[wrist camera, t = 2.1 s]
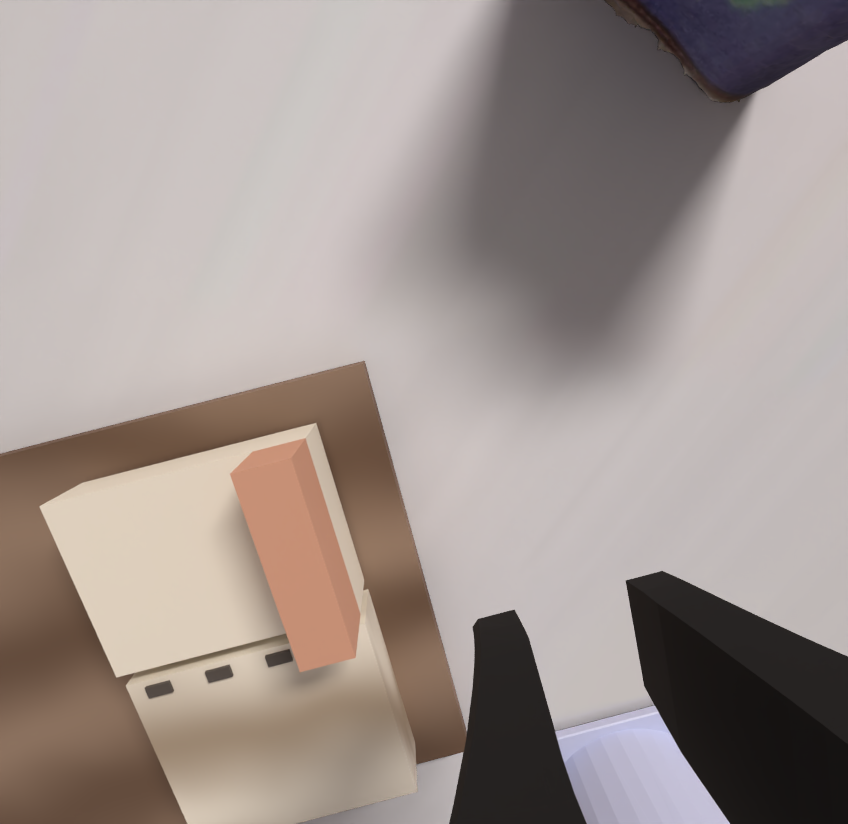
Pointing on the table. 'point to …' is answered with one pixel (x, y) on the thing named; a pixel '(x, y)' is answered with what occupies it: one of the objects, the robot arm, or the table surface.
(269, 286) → the table surface
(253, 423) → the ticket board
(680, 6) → the flask
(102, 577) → the cream block with bar
